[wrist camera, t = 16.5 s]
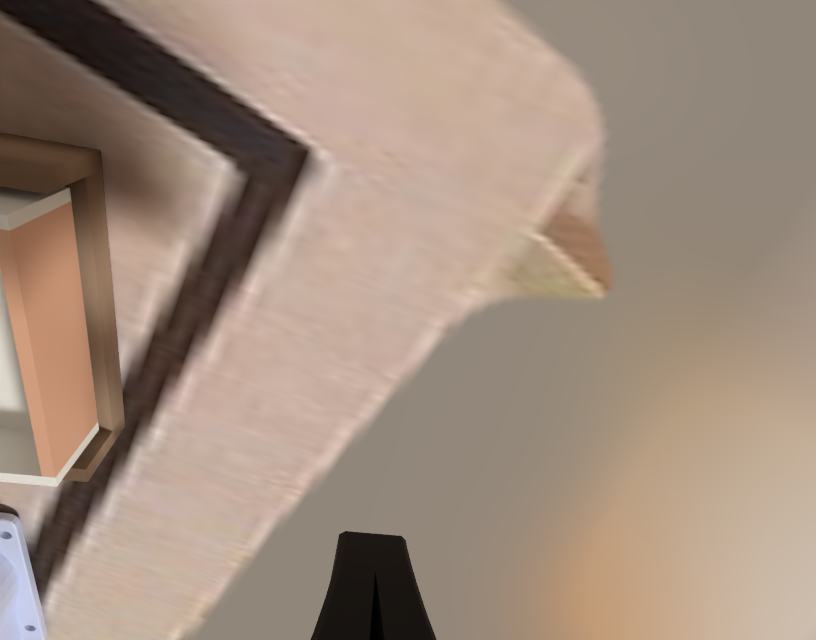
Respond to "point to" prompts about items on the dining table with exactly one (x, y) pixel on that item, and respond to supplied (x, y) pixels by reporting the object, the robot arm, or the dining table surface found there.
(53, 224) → the tray
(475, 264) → the dining table surface
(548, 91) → the dining table surface
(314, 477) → the dining table surface
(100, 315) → the dock
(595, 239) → the dining table surface
